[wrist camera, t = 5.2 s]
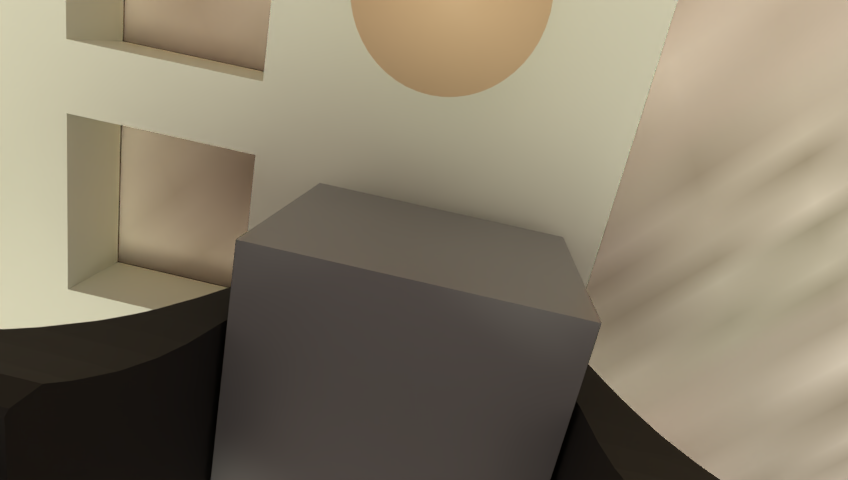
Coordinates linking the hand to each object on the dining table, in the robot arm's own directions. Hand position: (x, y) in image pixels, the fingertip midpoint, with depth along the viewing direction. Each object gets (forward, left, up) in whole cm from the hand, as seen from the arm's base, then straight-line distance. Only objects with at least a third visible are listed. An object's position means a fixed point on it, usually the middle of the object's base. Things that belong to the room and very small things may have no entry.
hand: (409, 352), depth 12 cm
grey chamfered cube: (0, 0, -1) cm, 1 cm away
